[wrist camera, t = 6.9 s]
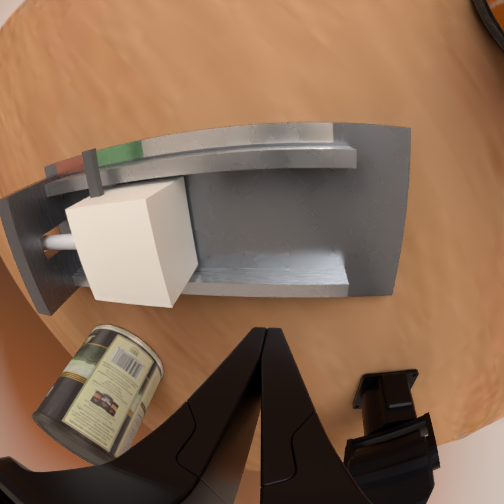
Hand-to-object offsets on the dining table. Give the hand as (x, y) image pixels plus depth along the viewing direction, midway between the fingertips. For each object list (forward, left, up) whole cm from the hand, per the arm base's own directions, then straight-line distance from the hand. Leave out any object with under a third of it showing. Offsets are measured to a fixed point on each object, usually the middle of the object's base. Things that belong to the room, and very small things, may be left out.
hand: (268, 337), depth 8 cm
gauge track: (0, +6, -12) cm, 13 cm away
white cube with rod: (+1, +14, -10) cm, 17 cm away
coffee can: (-17, +19, -12) cm, 28 cm away
